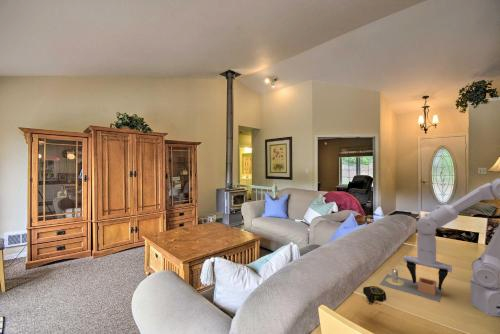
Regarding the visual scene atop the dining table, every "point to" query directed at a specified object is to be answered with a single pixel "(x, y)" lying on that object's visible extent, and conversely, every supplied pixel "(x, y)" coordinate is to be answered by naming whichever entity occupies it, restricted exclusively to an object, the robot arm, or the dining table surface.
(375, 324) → the dining table surface
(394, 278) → the steel post
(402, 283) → the seat plate
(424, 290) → the collar
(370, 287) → the tape measure
